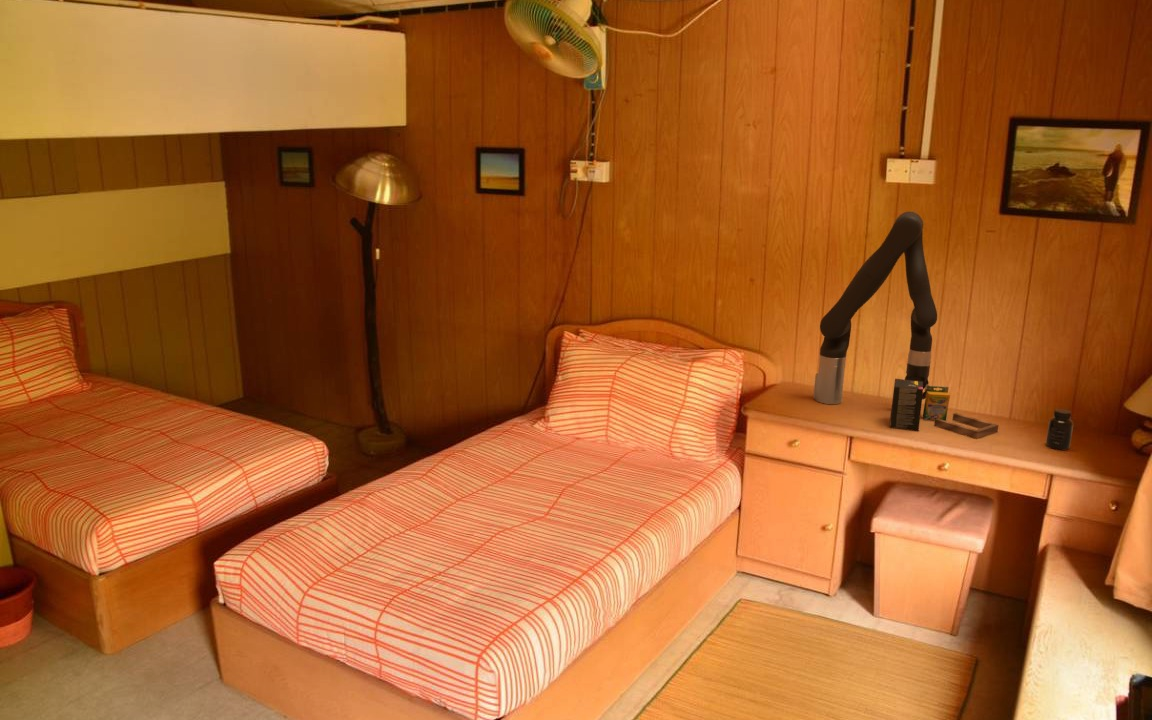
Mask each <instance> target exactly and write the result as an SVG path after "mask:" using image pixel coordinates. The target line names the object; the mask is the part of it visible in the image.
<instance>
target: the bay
mask: <svg viewBox="0 0 1152 720" xmlns="http://www.w3.org/2000/svg"><path fill="white" fill-rule="evenodd" d="M952 421H955V422H957V423H960V424H957V423H954V422H950V421H948V420H946V421H945V420H941V419H938V418H937V419H935V420H934V423H933V425H934V427H937V428H940V429H943V430H946V431H950V432H953V433H956V434H959V435H963V436H965V435H966V437H969V438H972V439H975V438H976V440H979V439H982V438H984V437H988V436H990V435H993V434H996V433H998V431H999V424H997V423H992V422H990V421H986V420H982V419H980V418H979V419H978V418H975V417H972V416H969V415H965V414H961V413H958V412H955V413H953V415H952ZM961 424H965V425H968V426H965V425H961ZM969 426H972V427H974V428H977V427H978V428H977V429H974V428H971V427H969ZM981 437H982V438H981ZM978 438H979V439H978Z"/></svg>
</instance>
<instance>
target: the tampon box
mask: <svg viewBox="0 0 1152 720" xmlns="http://www.w3.org/2000/svg"><path fill="white" fill-rule="evenodd" d="M923 392H924V389H923V382H922V381H913V380H904V379H902V378H901V379H900V378H895V379H894V385H893V393H892V400H891V401H892V402H891V409H890V416H889V427H890V428H891V429H892V428H893V429H900V430H901V429H902V430H908V431H916V432H919V431H920V430H919V429H920V421H921V412H922V404H923V403H922V402H923V400H922V396H923Z"/></svg>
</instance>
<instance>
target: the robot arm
mask: <svg viewBox="0 0 1152 720" xmlns="http://www.w3.org/2000/svg"><path fill="white" fill-rule="evenodd" d="M923 229H924V220H923V218H922V217H921V215H919V214H918V213H916V212H914V211H905V212H903V213H901V214H899V215H898V216H897V218H896V219H895V220H894V223H893V225H892V227H891V229H890V231H889V233H888V234H887V236H886V238H885V239H884V240H883V242H882V244H881V245H880V246H879V247H878V248H877V250H875V251H874V252H873V253H872V254H871V255H870V256H869V257H868V258H867V259H866V261H865V262H864V263H863V264H862V265H861V267H859V269H858V271H857V272H856V273H855V275H854V276H853V278H852V279H851V280H850V282H849V284H848V285H847V287H846V288H845V290H844V292H843V293H842V295H841V296H840V298H839V300H838V301H836V303H835V304H834V305H833V306H832V307H831V309H830V310H829V311H827V312H826V314H825V315H824V316H823V317H822V318H821V320H820V324H819V330H820V333H821V335H823V341H822V344H821V346H820V348H819V359H818V369H817V373H815V376H814V384H813V385H814V386H813V387H814V388H813V397H812V398H813V400H815V401H817V402H818V403H821V404H827V405H839V404H841V403H842V401H843V392H844V382H845V381H844V380H845V371H846V360H847V353H848V352H847V351H848V350H849V346H850V339H851V332H852V319H853V318H854V316H855V314H856V313H857V312H858V310H859V309H860V308H862V307H863V306H864V305H865V304H866V303H867V302H868V301H869V300H870V299H871V298H872V297H873V296H874V295H876V293H877V292H878V290H879V289H880V288H881V287H882V285H883V284H884V283H885V282H886V280H887V278H888V277H889V276H890V274H891V273H892V271H893V269H894V267H895V265H896V264H897V262H898V261H899V259H900V258H901V257H902V256H903V254H904V263H905V274H906V275H905V276H906V285H907V289H908V294H909V298H910V300H911V301H912V304H913V309H912V310H911V311H912V312H911V314H910V333H911V334H910V344H909V351H908V354H907V361H906V362H907V363H906V369H905V370H906V371H905V374H906V376H905V377H904V379H903V380H913V381H922V382H923V396H922V401H923V400H925V398H926V392H927V386H930V383H929V376H930V370H931V363H932V361H931V359H932V345H933V336H932V333H931V328H932V327H934V325H935V324H936V323H937V321H938V311H937V308H936V305H935V301H934V298H933V296H932V288H931V283H930V277H929V273H928V272H929V271H928V268H927V264H926V263H927V262H926V258H925V251H924V243H923V242H924V241H923V239H924V237H923V235H924V234H923V232H924V231H923ZM933 390H935V388H933Z"/></svg>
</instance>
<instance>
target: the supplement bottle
mask: <svg viewBox="0 0 1152 720" xmlns="http://www.w3.org/2000/svg"><path fill="white" fill-rule="evenodd" d="M1073 429H1074V422H1073V420H1072V411H1071V410H1068V409H1064V408H1063V409H1062V408H1057V409H1054V412H1053V417H1051V418H1050V419H1049V421H1048V428H1047V434H1046V440H1045V441H1046V442H1045V445H1046V447H1048V448H1049V449H1050V448H1051V449H1053V450H1056V449H1057V451H1067V450H1069V449H1070V447H1071V443H1072V436H1073Z"/></svg>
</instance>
